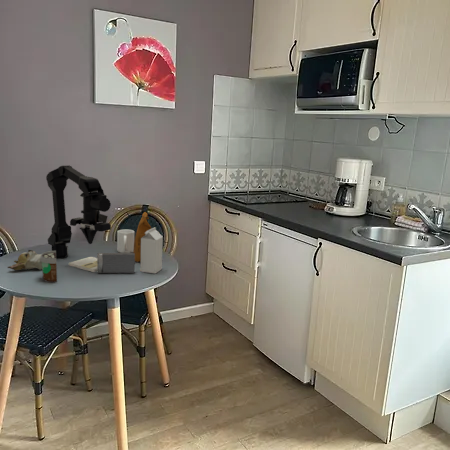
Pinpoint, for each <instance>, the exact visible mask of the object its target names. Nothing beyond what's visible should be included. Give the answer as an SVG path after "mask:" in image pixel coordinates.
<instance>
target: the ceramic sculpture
mask: <svg viewBox="0 0 450 450" xmlns="http://www.w3.org/2000/svg"><path fill="white" fill-rule="evenodd" d="M41 254H42V253H41ZM41 254H40V253H39V254H38V253H37V252H36V251H34V250H32V249H28V251H27V252H22V253H20V254H19V256H18V257H17V260H13V262H14V264H12V265H10V266H7V269H11V270H15V271H20V270H27V269H28V270H33V269H38V270H39V271H40V270H43V269H42V262H41V261H40V256H41Z"/></svg>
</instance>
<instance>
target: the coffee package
mask: <svg viewBox="0 0 450 450" xmlns="http://www.w3.org/2000/svg"><path fill="white" fill-rule="evenodd" d="M141 216H142V217H141V218H140V220H139V222H138V225H137V229H136V232H135V235H134V250H133V252H132V253H135V263H138V262H140V263H141V238H142V237H143V236H145V235H146V234H145V232H146V231H148V230H150V229H152V228H153V227H152V226H151V225H150V224H149V222H148V220H149V219H150V218H149V216H148V213H147V212H146V211H144V212H143V213H142V214H141Z"/></svg>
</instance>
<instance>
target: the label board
mask: <svg viewBox="0 0 450 450" xmlns="http://www.w3.org/2000/svg"><path fill="white" fill-rule="evenodd" d="M68 266H70V267H73V268H76V269H81V270H84V271H87V272H92V273H95V272H97V257H95V256H88V257H85V258H84V257H83V258H81V259H78V260H73V261H70V262H68Z"/></svg>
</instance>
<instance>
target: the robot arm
mask: <svg viewBox="0 0 450 450" xmlns="http://www.w3.org/2000/svg"><path fill="white" fill-rule="evenodd" d="M68 180H69V181H72V182H73V183H75V184H77V185H78V189H79V190H80V191H81V192H82V193H81V194H80V197H82V210H80V213H81V214H82V215H83V216H82V217H79V216H78V217H73V218H71V219H70V221H69V224H68V223H67V219H66V218H67V217H66V207H65V206H66V204H65V193H64V191H65V189H66V187H67V184H68ZM46 182H47V187H48V188H49V189H50V191H51V195H52V204H53V217H54V223H53V225H52V227H51V234H50V235H49V237H48V238H47V245H51V251H56V259H66V258H67V256H69V246H68V245H67V244H70V243H71V239H72V235H73V233H72V227H71V226H73V227H76V226H77V225H80V227H79V230H81V232H82V234H83V235H84V237H85V239H86V242H87V243H88V245H92V244H93V242H94V240H95V239H94V238H95V236H96V234H97V232H105V231H110V230H112V225H111V224H110V222H107V221H108V217H109V215H105V214H101V212H104V213H105V212H108V211H110V208H111V207H112V206H111V205H112V204H111V201H110V199H109V198H107V197H108V196H107V195H105V192H104V190H103V188H102V186H101V183H100V181H99V179H98V178H95V177H92V176H88V175H85V174H83V173H81V172H80V171H78V170H77V169H75V168H73V166H72V165H66V164H65V165H60V166H59V167H58V168H55V169H53V170H51V171H48V173H47V174H46Z"/></svg>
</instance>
